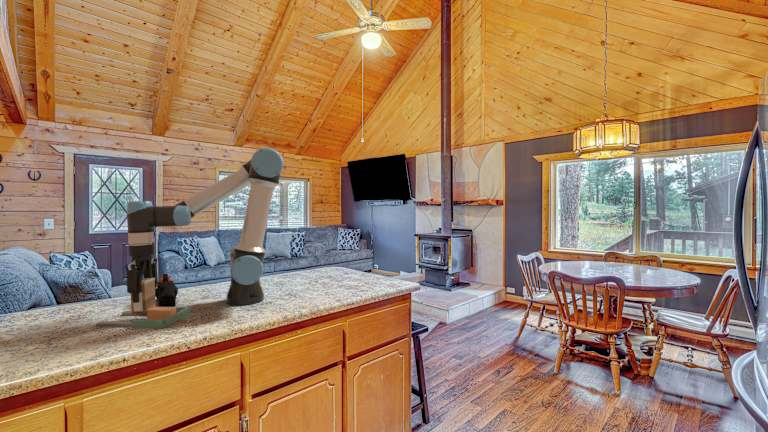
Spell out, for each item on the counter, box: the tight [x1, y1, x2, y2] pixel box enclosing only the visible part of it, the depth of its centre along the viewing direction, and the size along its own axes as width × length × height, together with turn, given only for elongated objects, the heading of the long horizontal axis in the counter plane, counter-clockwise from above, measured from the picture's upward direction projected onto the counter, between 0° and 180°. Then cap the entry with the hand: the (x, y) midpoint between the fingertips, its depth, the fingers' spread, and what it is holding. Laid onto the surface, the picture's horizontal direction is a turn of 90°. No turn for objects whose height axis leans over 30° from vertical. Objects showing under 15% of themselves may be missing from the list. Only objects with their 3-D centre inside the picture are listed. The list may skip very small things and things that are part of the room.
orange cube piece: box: [158, 306, 177, 320], centre depth 127 cm, size 4×4×4 cm
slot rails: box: [95, 310, 132, 328], centre depth 127 cm, size 12×14×1 cm
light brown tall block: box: [130, 277, 157, 317], centre depth 127 cm, size 5×6×12 cm
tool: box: [155, 273, 179, 307], centre depth 147 cm, size 8×23×15 cm, turn 33°
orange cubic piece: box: [146, 306, 164, 320], centre depth 127 cm, size 4×4×4 cm
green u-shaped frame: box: [131, 306, 192, 329], centre depth 127 cm, size 11×16×2 cm
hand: (144, 308), depth 127 cm, fingers closed on light brown tall block, 5 cm apart
